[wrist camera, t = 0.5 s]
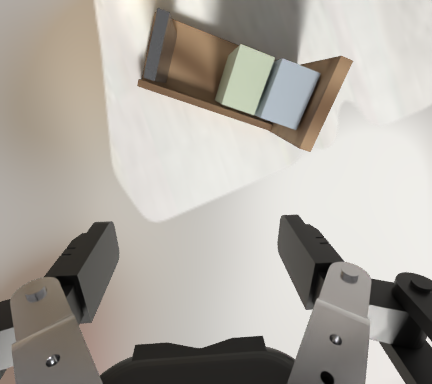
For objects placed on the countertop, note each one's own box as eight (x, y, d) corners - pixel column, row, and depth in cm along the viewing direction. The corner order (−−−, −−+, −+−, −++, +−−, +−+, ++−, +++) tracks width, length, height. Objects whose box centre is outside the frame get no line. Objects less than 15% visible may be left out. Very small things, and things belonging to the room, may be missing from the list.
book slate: (257, 66, 32) (282, 58, 23) (285, 77, 33) (320, 73, 23) (242, 109, 34) (260, 117, 25) (268, 118, 34) (296, 130, 25)
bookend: (154, 26, 29) (136, -1, 20) (177, 35, 30) (169, 12, 21) (144, 75, 31) (123, 70, 22) (166, 83, 32) (154, 81, 22)
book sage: (228, 55, 31) (240, 43, 23) (253, 65, 32) (275, 57, 23) (214, 100, 33) (221, 104, 25) (239, 108, 34) (253, 115, 25)
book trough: (156, 14, 30) (131, -34, 18) (296, 70, 33) (353, 60, 22) (141, 86, 33) (112, 86, 21) (272, 130, 36) (310, 151, 24)
